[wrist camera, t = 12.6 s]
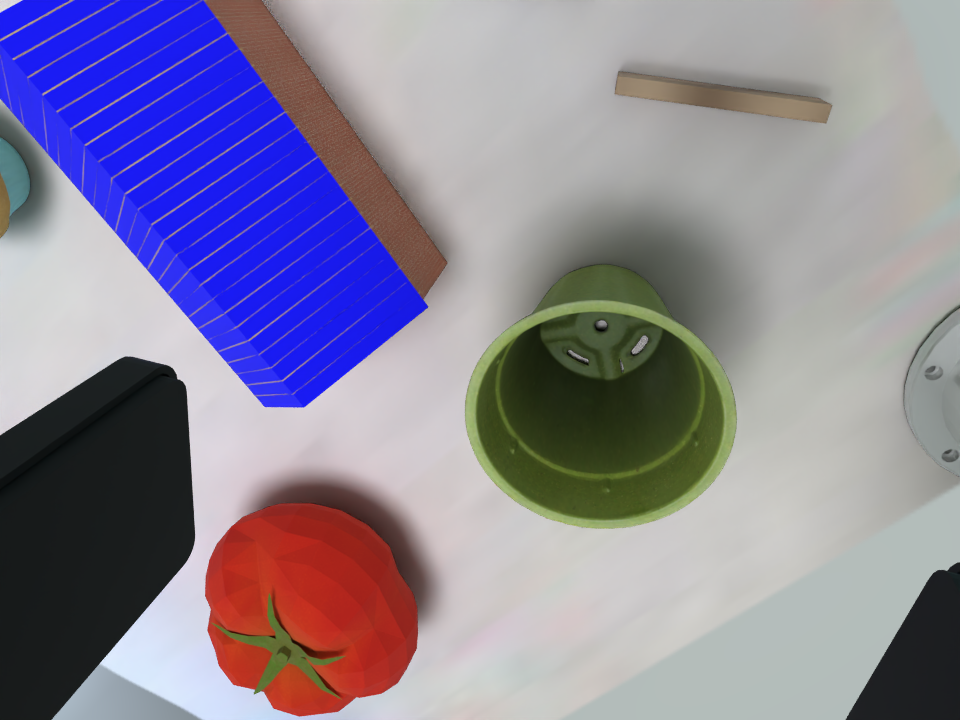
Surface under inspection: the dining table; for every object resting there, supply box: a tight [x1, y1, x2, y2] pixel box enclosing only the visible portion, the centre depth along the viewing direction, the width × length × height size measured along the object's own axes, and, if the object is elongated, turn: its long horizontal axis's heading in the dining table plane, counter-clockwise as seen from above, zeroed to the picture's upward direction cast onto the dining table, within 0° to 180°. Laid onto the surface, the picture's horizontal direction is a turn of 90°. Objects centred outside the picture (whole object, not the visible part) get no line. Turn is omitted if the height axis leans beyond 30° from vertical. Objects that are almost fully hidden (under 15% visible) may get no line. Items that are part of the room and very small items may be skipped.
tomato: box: [205, 503, 418, 716], centre depth 49 cm, size 14×16×10 cm
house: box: [0, 0, 447, 407], centre depth 36 cm, size 12×20×12 cm, turn 35°
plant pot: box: [465, 265, 737, 529], centre depth 36 cm, size 12×12×11 cm
